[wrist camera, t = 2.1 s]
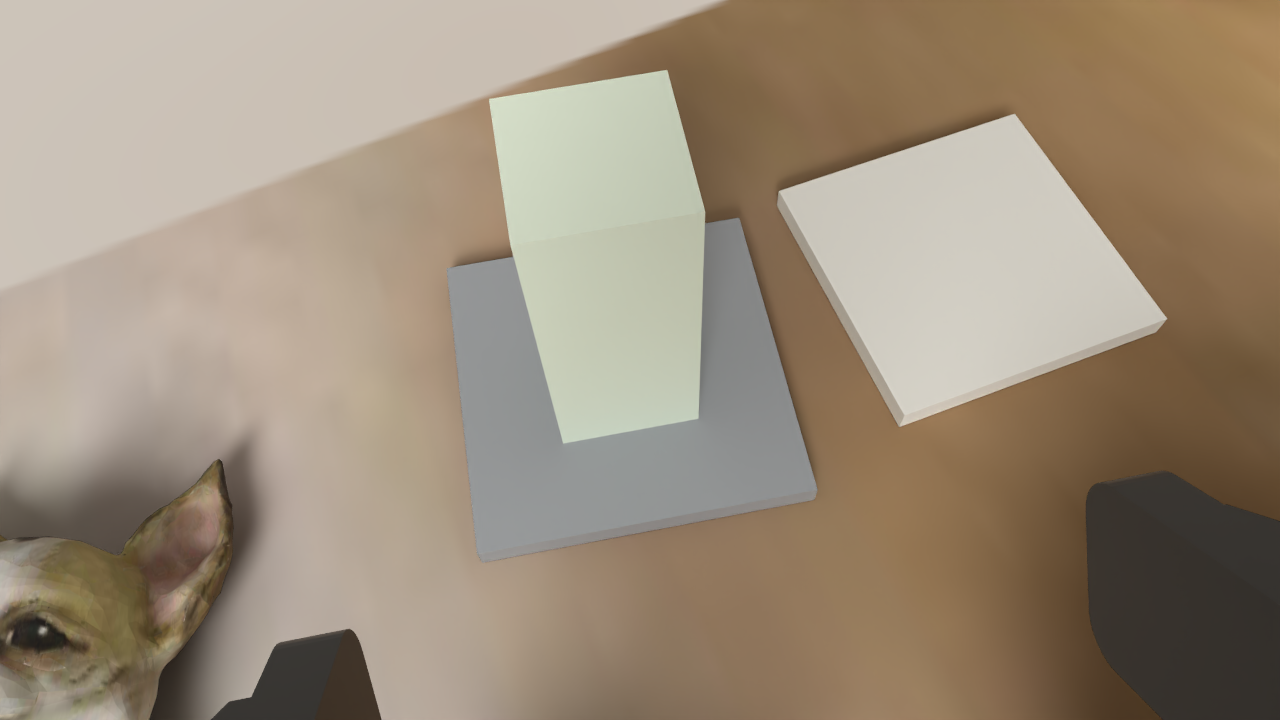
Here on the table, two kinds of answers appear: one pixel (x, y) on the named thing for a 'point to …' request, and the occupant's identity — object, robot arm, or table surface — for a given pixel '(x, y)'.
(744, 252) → the post stand
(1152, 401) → the table surface
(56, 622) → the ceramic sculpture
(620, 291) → the pale green pillar
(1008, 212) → the mat
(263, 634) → the table surface
